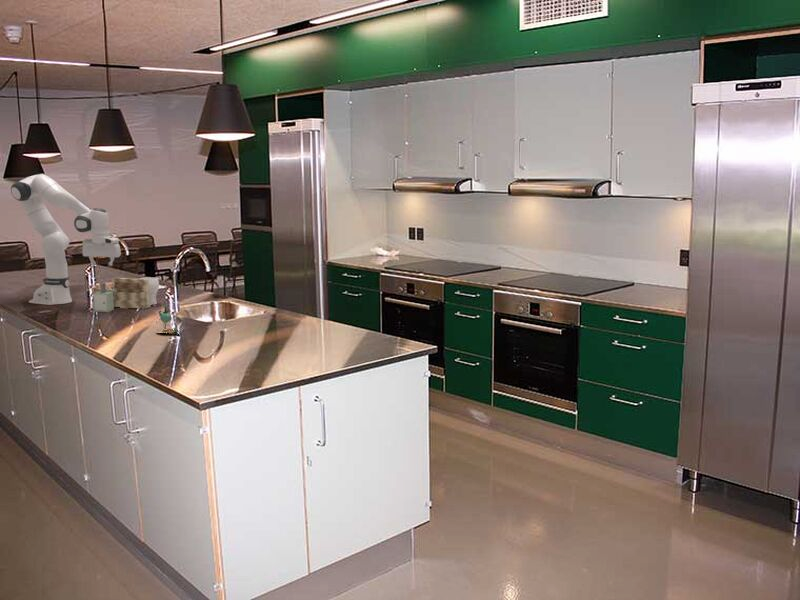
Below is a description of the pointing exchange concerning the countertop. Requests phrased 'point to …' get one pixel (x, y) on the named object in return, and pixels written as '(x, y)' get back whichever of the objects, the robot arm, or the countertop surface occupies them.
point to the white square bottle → (103, 299)
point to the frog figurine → (166, 320)
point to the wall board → (130, 293)
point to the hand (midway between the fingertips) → (102, 265)
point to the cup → (152, 289)
